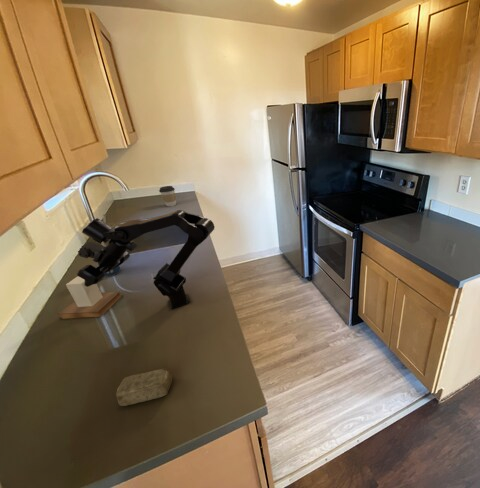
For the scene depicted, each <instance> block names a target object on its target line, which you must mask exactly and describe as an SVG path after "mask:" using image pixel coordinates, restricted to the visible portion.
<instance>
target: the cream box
mask: <svg viewBox="0 0 480 488" xmlns="http://www.w3.org/2000/svg"><path fill="white" fill-rule="evenodd" d="M65 286H66V288H67V290H68V292H69V293H70V295H71V297H72V299H73V302H74V301H75V303H76V304H77V306H78V307H86V306H93V305H95V304H96V303H97V302H98V301H99V300H100V299H101V298H103V296H102V294H101V293H102V292H101V290H100V288H99V286H98V283H97V284H93V285H91V286H89V287H87V286H85V280H84V279H82V278H81V277H79V276H77V275H76V277H75V278H73V279H72V280H70V281H68V282H67V283H66V284H65Z"/></svg>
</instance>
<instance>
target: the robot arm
mask: <svg viewBox="0 0 480 488" xmlns="http://www.w3.org/2000/svg"><path fill="white" fill-rule="evenodd" d="M173 226H176V227H177V228H178V229H180V230H181V231H183V232H184V234H186V235H187V238H186V239H187V240H186V242H185V243H184V244H183V246H182V247H181V248H180V249H179V252H178V253H177V254H176V256H175V257H174V258H173V260H172V261H171V262H170V263H167V262H166V263H165V264H164V265H163V266H162V267H161V268H160V269H159V270H158V271H157V273H156V275H155V276H154V277H153V278H152V279H153V285H154V286H155V287H156V289H157V290H158V291H159V292H160V294H161V295H162V296H164V297H168V303H169V306H170V309H171V310H174V309H177V308H180V307H182V306H184V305H187V304H190V303H191V301H190V299H189V297H188V295H187V293H186V291H185V288H184V285H185V284H186V283H187V278H186V277H185V276H184V275H181V272H182V271H181V270H182V268H183V266H184V265H185V263H186V262H187V261H188V260H189V258H190V257H191V255H192V254H193V253H194V251H195V250H196V249H197V248H198V247H199V245H201V244H202V243H203V242H204V241H205V240H206V239H207V238H208V237H210V235H211V234H212V233H213V232H214V230H215V224H214V222H213V221H212V220H211V219H209V218H207V217H206V218H205V217H203V216H201V215H198V214H193V213H189V212H187V211H185V210H182V209H177V210H175V211H172V212H169V213H166V214H162V215H158V216H155V217H151V218H147V219H130V220H126V221H125V222H124V223H123V222H122V224H117V225H115V226H114V227H112V226H110V225H109V224H106V223H105V222H104V221H102V220H101V219H100V218H97V217H96V218H94V219H92V221H91V222H90V223H89V224H88V225H87V226H85V227H83V229H82V231H81V233H82V234H83V235H85V236H86V237H88V238H90V239H92V240H93V241H95V242H93V241H88V242H86V243H85V244H83V245H81V247H80V248H79V250H77V253H78V256H79V257H81V258H84V259H88V258H91V259H92V261H93V262H94V263H97V262H98V263H97V265H98V264H99V265H100V266H99V265H98V266H97V267H96V266H94V265H92V264H86V265H84V266H83V267H82V268H80V269H79V270H78V271H77V273H76V277H77V276H79V277H81V278H82V279H84V280H85V286H87V287H89V286H91V285H93V284H97V285H98V283H100V282H101V281H102V280H103V279H104V278H105V277H106V276H105V274H104V273H107V272H109V271H110V270H112V269H114V268H116V267H117V266H121V265H123V264H124V263H125V262H126V261H127V260H128V259H129V258H130V257H131V255H130V253H129V252H128V251H130V252H132V251H134V250H135V249H137V248H138V244H137V243H136V241H135V239H137V238H139V237H141V236H143V235H144V234H148V233H151V232H154V231H159V230H161V229H165V228H170V227H173ZM102 243H104V244H106V243H107V244H106V246H105V245H103V244H102ZM101 269H102V270H101Z"/></svg>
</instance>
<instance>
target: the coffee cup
mask: <svg viewBox="0 0 480 488" xmlns="http://www.w3.org/2000/svg"><path fill="white" fill-rule="evenodd" d="M175 189H176V188H175V187H173V185H166V186H161V187H160V188H159V189H158V191H159V193H160V194H161V197H162V199H163V201H164V204H165V205H166V207H174V206H176V205H177V200H176V192H175Z"/></svg>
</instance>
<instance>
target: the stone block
mask: <svg viewBox="0 0 480 488" xmlns="http://www.w3.org/2000/svg"><path fill="white" fill-rule="evenodd" d="M171 373H172V372H171V371H170V370H169V369H168V368H164V367H163V368H159V369H153V370H150V371H146V372H142V373H134V374H131V375H127V376H125V377H124V378H123V379H122V380H121V382H120V384H119V386H118V387H117V390H116V392H115V396H116V399H117V403H118V406H120V407H126V406H130V405H135V404H139V403H143V402H149V401H152V400H156V399H160V398H162V397H164V396H166V395H168V393H169V390H170V387H171V386H172V382H173V375H172V374H171Z"/></svg>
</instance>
